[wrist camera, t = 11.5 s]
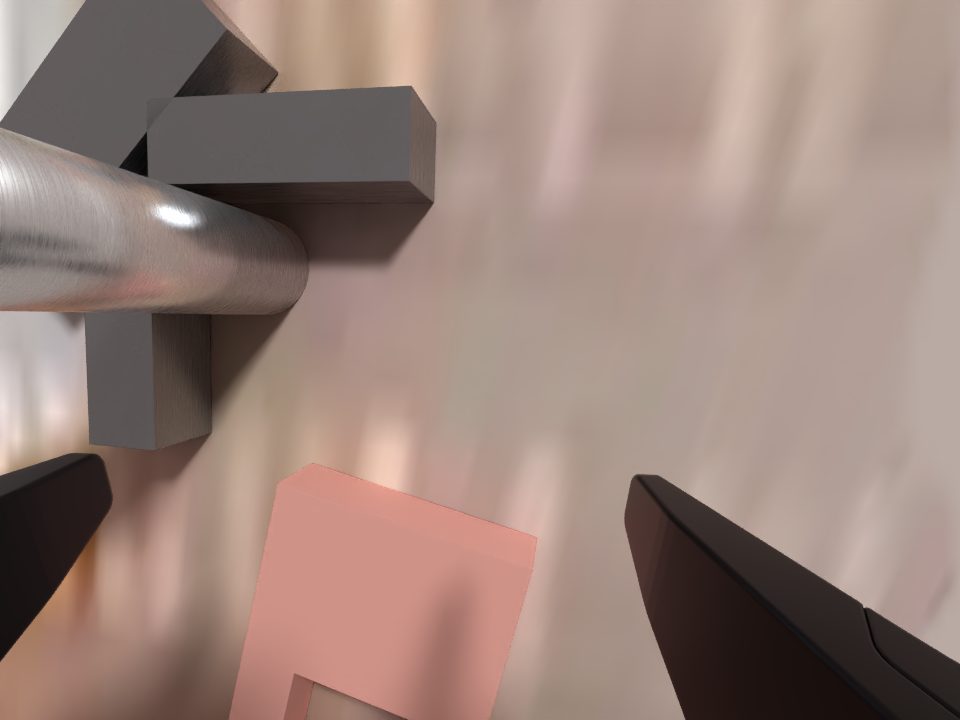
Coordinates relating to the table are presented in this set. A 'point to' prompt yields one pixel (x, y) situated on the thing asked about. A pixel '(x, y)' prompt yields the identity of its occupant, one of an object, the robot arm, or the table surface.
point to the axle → (132, 242)
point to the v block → (203, 171)
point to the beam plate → (379, 603)
